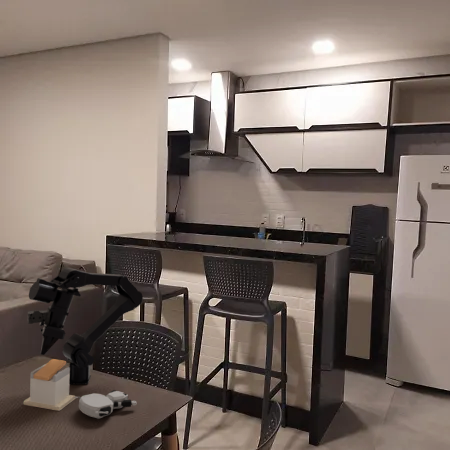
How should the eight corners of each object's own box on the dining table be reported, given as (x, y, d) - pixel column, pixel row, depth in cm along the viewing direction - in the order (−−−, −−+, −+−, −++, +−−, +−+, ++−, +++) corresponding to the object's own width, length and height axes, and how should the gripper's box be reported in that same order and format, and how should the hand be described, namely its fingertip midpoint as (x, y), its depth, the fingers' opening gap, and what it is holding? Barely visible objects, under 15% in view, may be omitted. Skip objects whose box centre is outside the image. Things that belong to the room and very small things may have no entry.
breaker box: (40, 393, 137) (41, 362, 137) (75, 398, 134) (75, 367, 134) (23, 404, 129) (24, 372, 129) (59, 410, 127) (60, 377, 126)
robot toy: (115, 398, 138) (71, 410, 127) (117, 384, 138) (72, 395, 127) (138, 413, 129) (92, 426, 119) (140, 398, 129) (94, 410, 119)
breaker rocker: (52, 364, 136) (52, 358, 136) (66, 366, 135) (65, 360, 135) (34, 380, 128) (33, 375, 127) (48, 383, 127) (47, 377, 126)
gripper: (33, 296, 146) (15, 342, 143) (36, 303, 129) (15, 355, 127) (66, 305, 151) (49, 350, 148) (73, 313, 134) (54, 364, 131)
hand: (42, 354), depth 138 cm, fingers closed
